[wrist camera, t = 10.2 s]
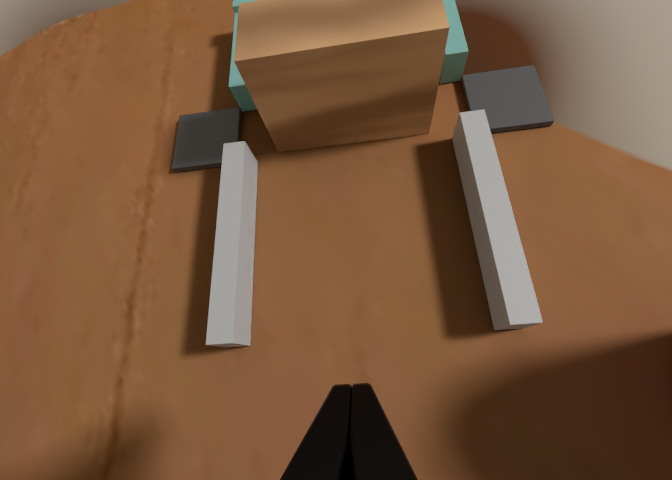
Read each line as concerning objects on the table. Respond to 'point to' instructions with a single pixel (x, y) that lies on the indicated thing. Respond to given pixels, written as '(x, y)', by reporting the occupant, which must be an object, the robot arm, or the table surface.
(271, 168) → the table surface
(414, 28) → the step block
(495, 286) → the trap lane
